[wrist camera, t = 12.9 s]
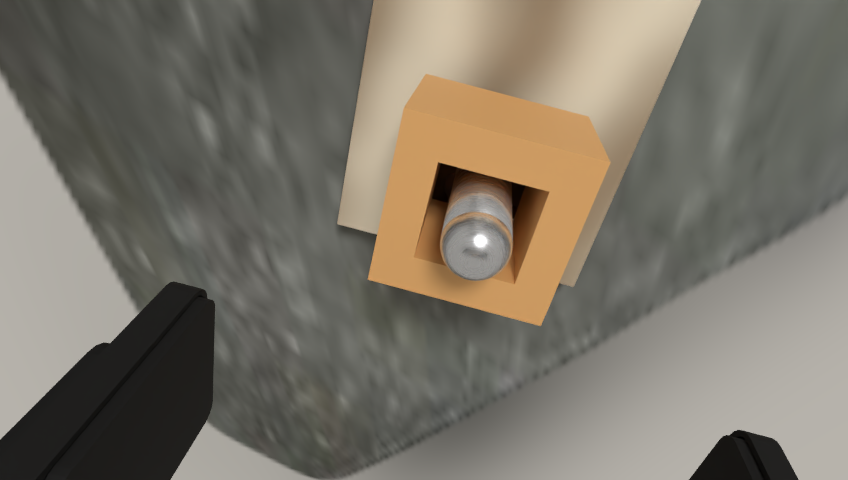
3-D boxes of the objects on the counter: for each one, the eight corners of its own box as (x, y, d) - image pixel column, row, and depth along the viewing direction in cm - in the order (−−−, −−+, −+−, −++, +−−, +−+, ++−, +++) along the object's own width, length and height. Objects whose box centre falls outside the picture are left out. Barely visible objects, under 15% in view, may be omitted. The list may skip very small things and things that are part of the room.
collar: (425, 73, 20) (404, 107, 16) (588, 116, 20) (610, 162, 16) (393, 218, 24) (367, 279, 19) (534, 256, 24) (540, 325, 19)
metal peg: (416, 189, 25) (370, 310, 17) (442, 78, 22) (404, 155, 14) (524, 218, 25) (533, 354, 17) (563, 110, 22) (596, 207, 14)
